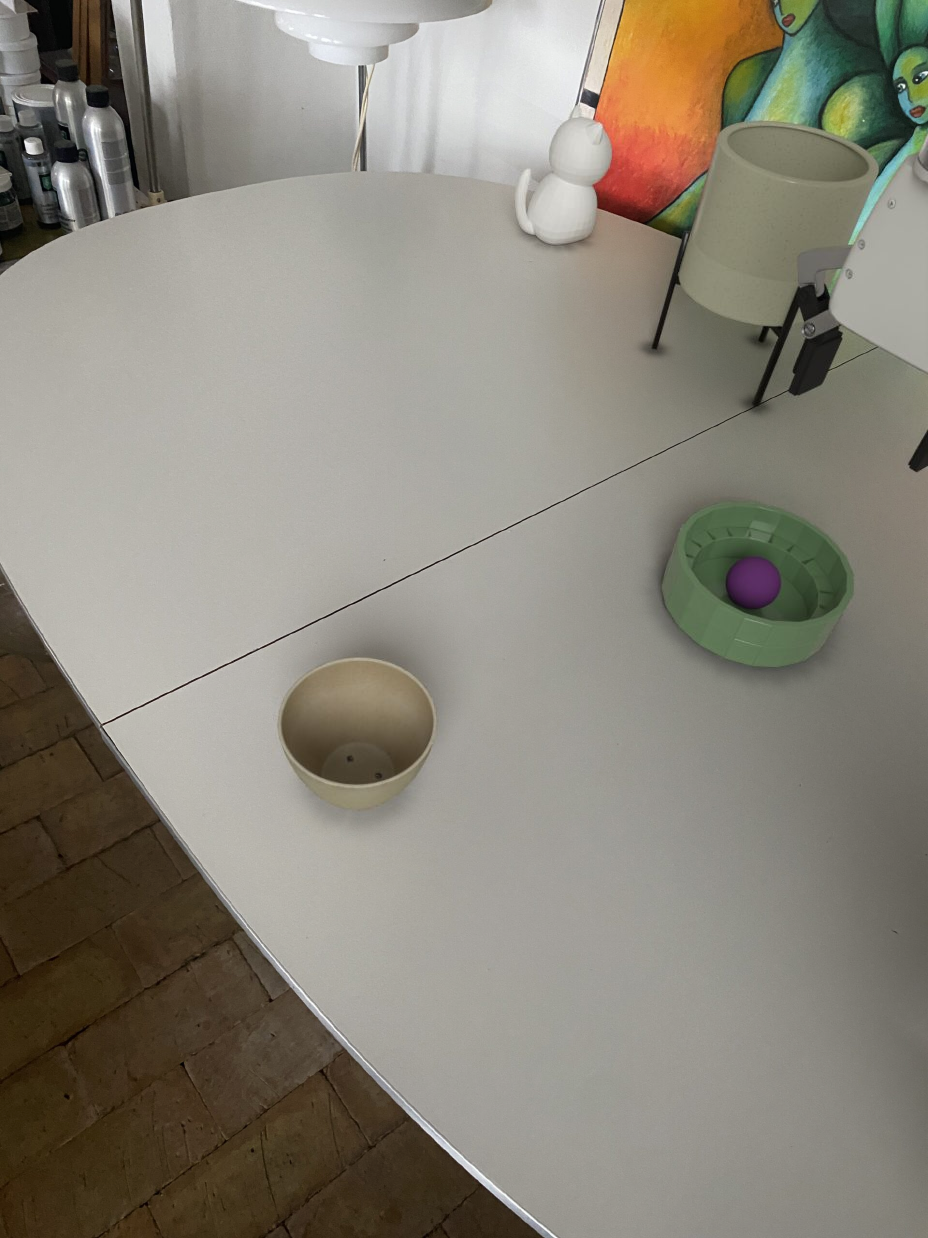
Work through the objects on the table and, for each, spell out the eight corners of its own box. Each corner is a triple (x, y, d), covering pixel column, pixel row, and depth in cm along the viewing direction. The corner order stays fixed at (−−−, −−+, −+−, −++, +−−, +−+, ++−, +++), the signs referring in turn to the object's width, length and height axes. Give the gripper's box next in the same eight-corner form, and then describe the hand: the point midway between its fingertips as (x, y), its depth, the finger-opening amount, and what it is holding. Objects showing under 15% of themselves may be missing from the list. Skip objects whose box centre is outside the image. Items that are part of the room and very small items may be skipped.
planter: (659, 315, 106) (717, 107, 88) (791, 344, 104) (876, 137, 86) (642, 382, 96) (704, 162, 78) (787, 416, 94) (883, 198, 77)
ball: (782, 606, 74) (799, 568, 71) (748, 627, 72) (765, 589, 69) (742, 576, 76) (757, 538, 73) (708, 596, 74) (722, 558, 71)
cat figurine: (609, 246, 116) (635, 125, 105) (525, 256, 113) (543, 132, 101) (578, 216, 122) (600, 98, 110) (497, 225, 118) (511, 103, 107)
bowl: (860, 624, 74) (889, 580, 70) (752, 699, 68) (776, 655, 64) (735, 527, 81) (755, 481, 77) (626, 586, 75) (641, 540, 71)
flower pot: (440, 834, 58) (448, 778, 53) (287, 851, 56) (279, 795, 51) (420, 711, 64) (426, 650, 59) (283, 723, 63) (275, 661, 57)
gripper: (1194, 204, 43) (1007, 476, 56) (898, 92, 52) (794, 349, 65) (1126, 235, 40) (943, 517, 53) (822, 109, 49) (728, 377, 61)
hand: (861, 424), depth 59 cm, fingers open, 9 cm apart
